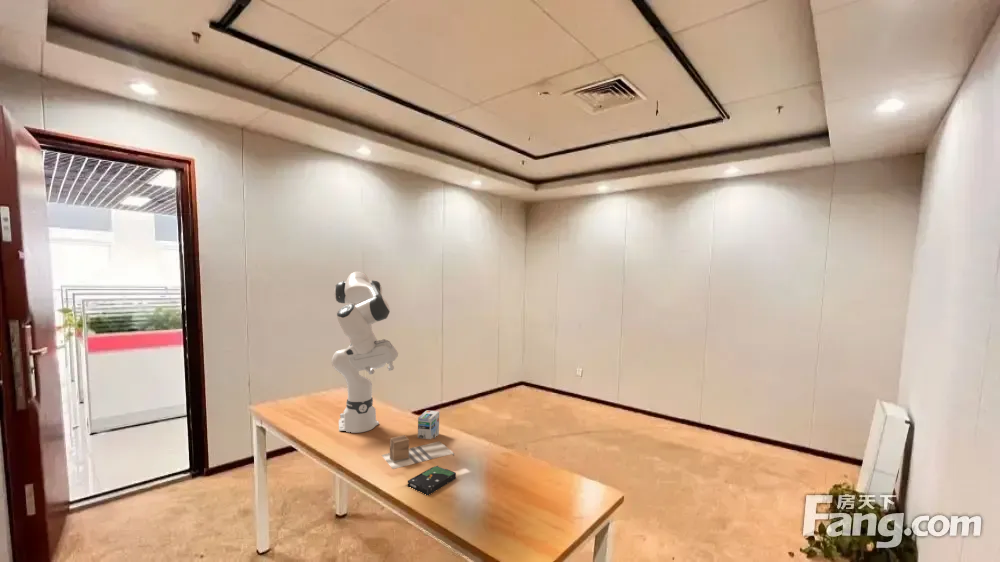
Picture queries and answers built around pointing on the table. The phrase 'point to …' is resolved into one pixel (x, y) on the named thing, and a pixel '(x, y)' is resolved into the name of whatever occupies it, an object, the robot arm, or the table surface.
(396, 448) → the block
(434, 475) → the disk drive
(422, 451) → the board
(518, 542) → the table surface
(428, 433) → the light bulb box
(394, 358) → the robot arm
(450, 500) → the table surface
